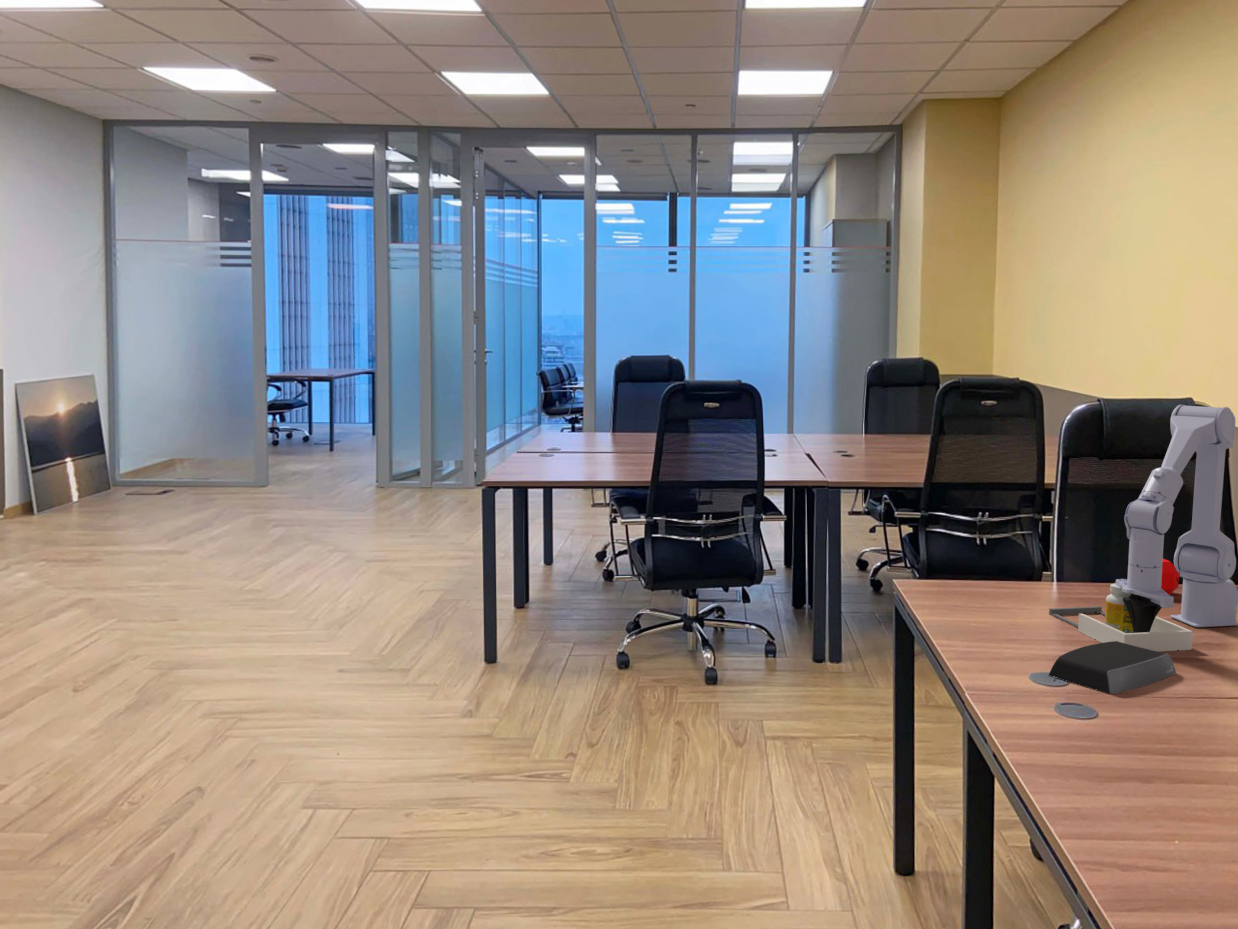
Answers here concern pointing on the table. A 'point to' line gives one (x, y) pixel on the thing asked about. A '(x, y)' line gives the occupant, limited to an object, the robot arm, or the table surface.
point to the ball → (1169, 577)
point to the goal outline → (1074, 612)
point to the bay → (1140, 634)
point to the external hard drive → (1113, 667)
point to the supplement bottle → (1117, 610)
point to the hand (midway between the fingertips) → (1141, 635)
